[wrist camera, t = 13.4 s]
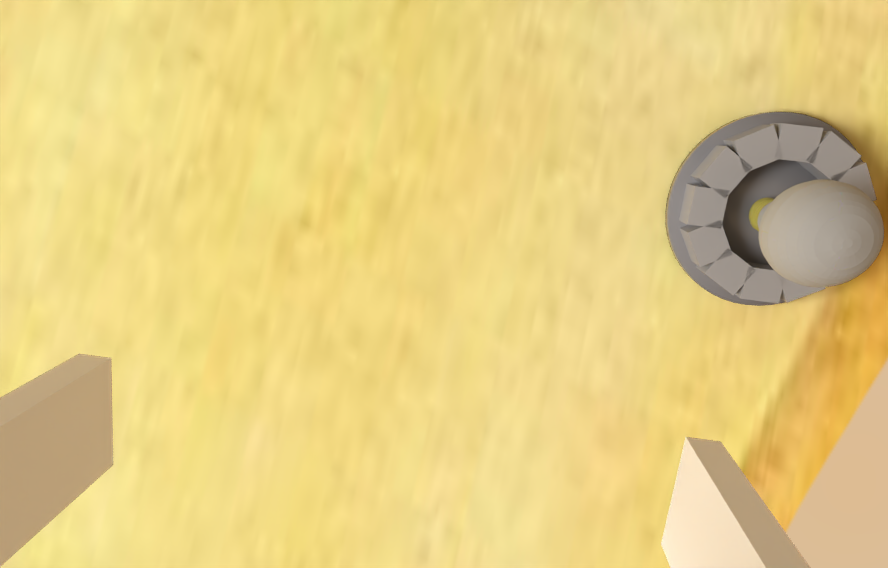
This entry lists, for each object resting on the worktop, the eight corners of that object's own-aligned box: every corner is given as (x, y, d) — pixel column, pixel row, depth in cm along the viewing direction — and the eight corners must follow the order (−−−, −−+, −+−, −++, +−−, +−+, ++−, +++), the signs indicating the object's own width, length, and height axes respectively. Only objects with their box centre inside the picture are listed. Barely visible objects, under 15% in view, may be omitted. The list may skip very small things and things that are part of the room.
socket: (686, 101, 39) (700, 99, 37) (887, 124, 39) (914, 124, 36) (649, 289, 42) (658, 300, 40) (834, 313, 42) (856, 325, 39)
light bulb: (728, 268, 41) (802, 314, 31) (706, 187, 40) (774, 208, 30) (816, 240, 40) (920, 278, 30) (796, 156, 39) (896, 168, 29)
